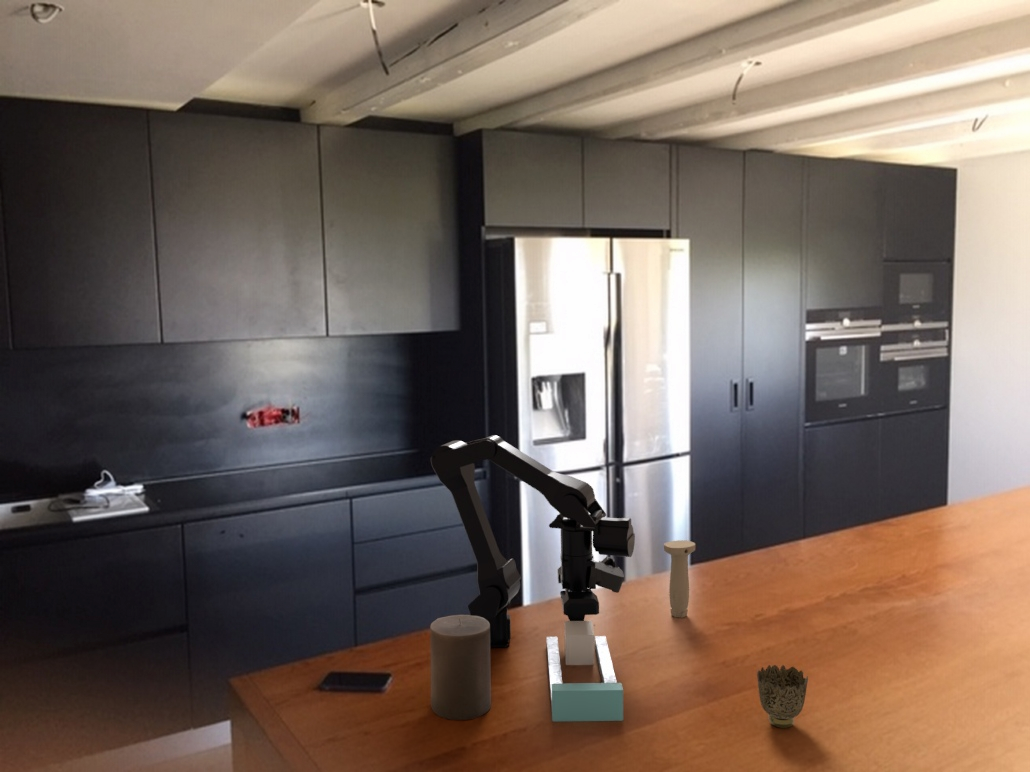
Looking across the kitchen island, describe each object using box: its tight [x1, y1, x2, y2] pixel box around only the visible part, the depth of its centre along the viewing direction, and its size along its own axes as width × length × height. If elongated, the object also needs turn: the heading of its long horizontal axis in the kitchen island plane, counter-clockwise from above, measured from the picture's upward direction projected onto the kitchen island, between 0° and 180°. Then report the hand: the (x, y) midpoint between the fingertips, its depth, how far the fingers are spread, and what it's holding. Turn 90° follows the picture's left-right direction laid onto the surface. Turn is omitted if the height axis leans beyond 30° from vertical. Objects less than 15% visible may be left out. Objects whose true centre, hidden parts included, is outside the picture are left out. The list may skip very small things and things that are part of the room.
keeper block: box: [564, 620, 595, 666], centre depth 160 cm, size 5×5×6 cm
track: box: [546, 635, 624, 722], centre depth 152 cm, size 11×28×5 cm, turn 0°
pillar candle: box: [429, 614, 492, 721], centre depth 143 cm, size 10×10×15 cm
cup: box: [756, 664, 809, 729], centre depth 136 cm, size 8×7×8 cm
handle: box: [663, 539, 696, 619], centre depth 180 cm, size 5×6×15 cm
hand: (578, 633), depth 164 cm, fingers closed
